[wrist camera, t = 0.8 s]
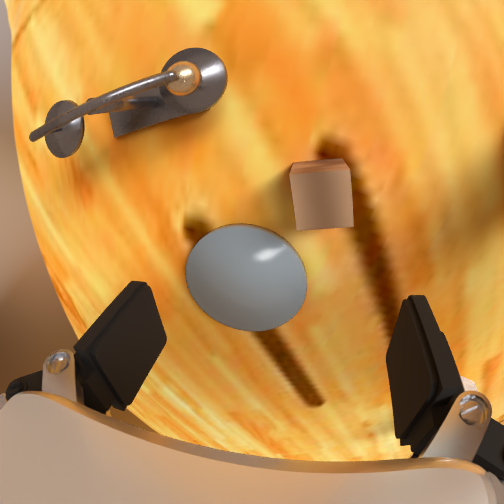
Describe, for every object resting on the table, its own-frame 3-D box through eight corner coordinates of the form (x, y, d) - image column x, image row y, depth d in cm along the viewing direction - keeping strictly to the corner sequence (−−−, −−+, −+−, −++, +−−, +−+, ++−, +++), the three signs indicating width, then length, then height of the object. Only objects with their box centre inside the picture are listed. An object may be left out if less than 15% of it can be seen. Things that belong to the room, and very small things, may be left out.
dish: (300, 217, 30) (300, 221, 29) (310, 324, 37) (310, 330, 36) (175, 230, 34) (171, 234, 33) (205, 324, 40) (203, 330, 39)
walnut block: (341, 158, 26) (349, 169, 21) (345, 204, 29) (353, 226, 23) (293, 162, 28) (289, 174, 23) (299, 208, 30) (296, 230, 25)
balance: (236, 52, 23) (186, 17, 12) (247, 106, 26) (202, 102, 15) (89, 106, 28) (10, 120, 17) (98, 148, 31) (22, 176, 20)
